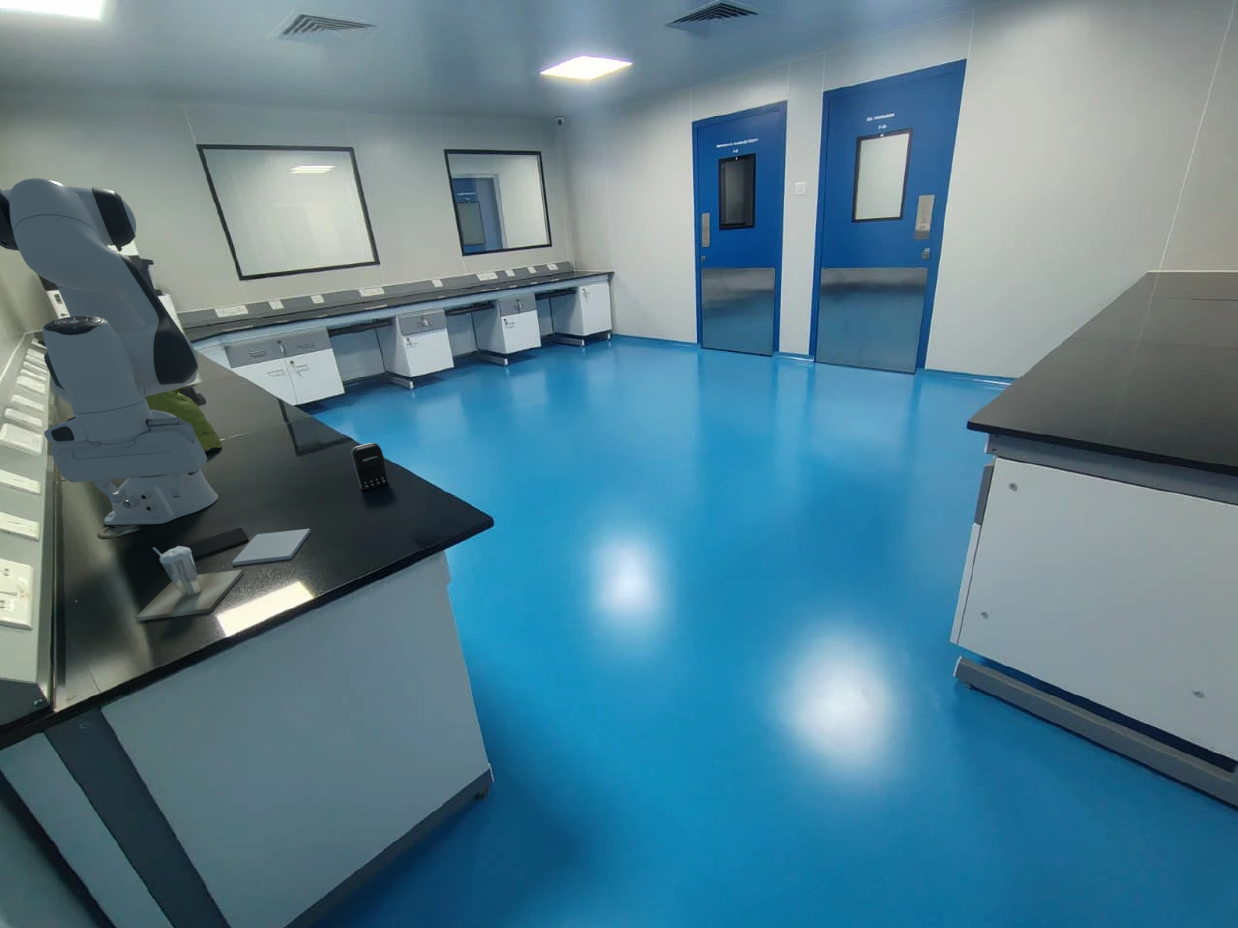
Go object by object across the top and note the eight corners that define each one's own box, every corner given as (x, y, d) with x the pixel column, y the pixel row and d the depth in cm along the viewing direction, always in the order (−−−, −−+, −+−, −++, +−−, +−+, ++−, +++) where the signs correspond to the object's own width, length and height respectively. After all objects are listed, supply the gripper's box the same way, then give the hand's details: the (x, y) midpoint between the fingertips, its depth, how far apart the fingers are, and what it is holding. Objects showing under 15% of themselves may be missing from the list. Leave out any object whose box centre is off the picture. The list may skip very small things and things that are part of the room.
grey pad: (233, 565, 110) (232, 562, 109) (258, 537, 120) (257, 534, 119) (291, 558, 111) (289, 555, 111) (310, 531, 121) (309, 528, 121)
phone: (248, 538, 118) (162, 567, 109) (250, 544, 118) (164, 573, 109) (241, 526, 123) (158, 552, 114) (243, 531, 124) (160, 558, 115)
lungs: (228, 451, 171) (202, 376, 161) (168, 467, 161) (135, 388, 151) (209, 435, 187) (183, 365, 177) (153, 448, 177) (122, 376, 167)
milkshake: (182, 586, 102) (162, 540, 98) (211, 583, 103) (193, 538, 99) (165, 601, 98) (144, 554, 94) (196, 598, 98) (176, 551, 94)
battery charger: (363, 493, 138) (352, 451, 134) (359, 488, 141) (348, 447, 137) (391, 485, 142) (381, 444, 138) (387, 480, 145) (377, 440, 140)
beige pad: (136, 621, 95) (134, 617, 94) (177, 580, 106) (175, 577, 105) (211, 611, 96) (209, 608, 96) (243, 573, 107) (242, 569, 107)
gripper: (198, 410, 91) (225, 484, 97) (63, 420, 89) (98, 495, 94) (176, 423, 86) (206, 500, 91) (31, 433, 83) (71, 513, 89)
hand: (150, 498), depth 93 cm, fingers open, 8 cm apart
